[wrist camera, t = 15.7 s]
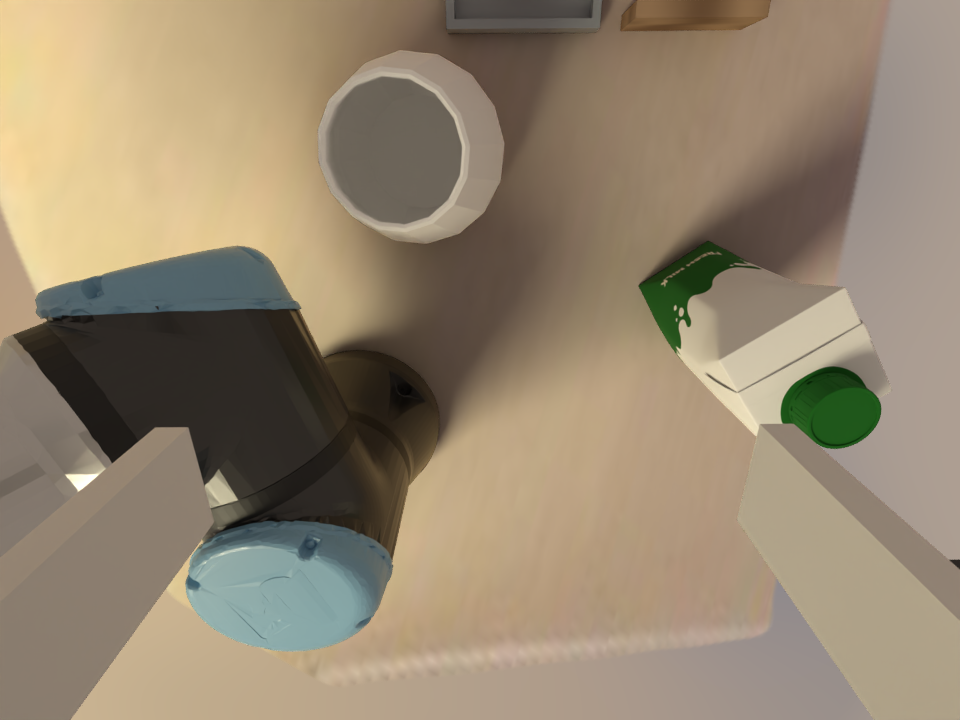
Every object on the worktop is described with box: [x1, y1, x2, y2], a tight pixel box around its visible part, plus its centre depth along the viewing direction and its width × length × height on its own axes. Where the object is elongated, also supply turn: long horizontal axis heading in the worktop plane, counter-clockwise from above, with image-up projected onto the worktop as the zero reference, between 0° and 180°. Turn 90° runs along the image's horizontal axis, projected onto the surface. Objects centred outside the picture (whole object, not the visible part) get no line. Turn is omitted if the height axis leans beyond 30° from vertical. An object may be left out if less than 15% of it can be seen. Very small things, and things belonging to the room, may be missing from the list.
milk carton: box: [639, 241, 892, 449], centre depth 36 cm, size 9×9×20 cm
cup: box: [318, 50, 505, 244], centre depth 35 cm, size 13×13×14 cm
